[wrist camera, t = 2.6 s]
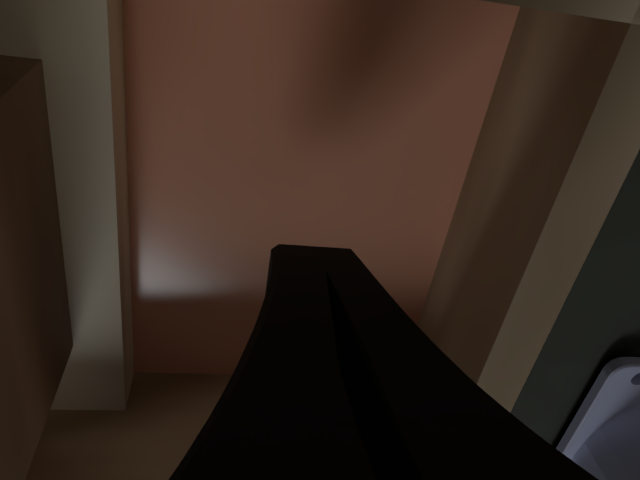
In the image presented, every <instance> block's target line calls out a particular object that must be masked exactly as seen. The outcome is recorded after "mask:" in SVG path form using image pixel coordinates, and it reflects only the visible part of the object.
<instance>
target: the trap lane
mask: <svg viewBox="0 0 640 480" xmlns="http://www.w3.org/2000/svg"><path fill="white" fill-rule="evenodd" d="M0 55H6V56H15V57H23V58H32V59H41V60H42V64H43V74H44V83H45V92H46V101H47V110H48V119H49V128H50V138H51V147H52V156H53V165H54V174H55V183H56V193H57V202H58V211H59V220H60V229H61V238H62V247H63V257H64V266H65V275H66V284H67V293H68V302H69V312H70V321H71V330H72V339H73V348H72V351H71V354H70V356H69V359H68V362H67V365H66V367H65V370H64V373H63V376H62V379H61V381H60V384H59V387H58V390H57V393H56V395H55V398H54V401H53V404H52V407H51V409H50V412H49V415H48V418H47V420H46V423H45V426H44V429H43V432H42V434H41V437H40V440H39V443H38V446H37V448H36V451H35V454H34V457H33V460H32V462H31V465H30V468H29V471H28V473H27V476H26V479H25V480H169V478H170V477H171V475H172V474H173V472H174V471H175V470H176V468H177V467H178V465H179V464H180V462H181V461H182V459H183V458H184V456H185V455H186V453H187V451H188V450H189V448H190V447H191V445H192V443H193V442H194V440H195V439H196V437H197V435H198V434H199V432H200V431H201V429H202V428H203V426H204V424H205V423H206V421H207V420H208V418H209V416H210V414H211V413H212V411H213V409H214V407H215V406H216V404H217V402H218V400H219V399H220V397H221V395H222V393H223V392H224V390H225V388H226V386H227V384H228V382H229V380H230V378H231V376H232V374H233V372H234V371H235V369H236V367H237V365H238V362H239V360H240V358H241V356H242V354H243V351H244V349H245V347H246V345H247V342H248V340H249V338H250V336H251V333H252V331H253V329H254V326H255V324H256V321H257V318H258V316H259V313H260V310H261V307H262V304H263V301H264V298H265V292H266V284H267V277H268V269H269V261H270V254H271V249H272V248H274V247H275V246H277V245H278V244H286V245H302V246H317V247H333V248H348V249H352V251H353V252H354V253H355V254H356V255H357V256H358V258H359V259H360V260H361V261H362V262H363V264H364V265H365V266H366V267H367V268H368V270H369V271H370V272H371V273H372V274H373V276H374V277H375V278H376V279H377V280H378V282H379V283H380V284H381V285H382V286H383V287H384V289H385V290H386V291H387V292H388V293H389V295H390V296H391V297H392V298H393V299H394V300H395V301H396V303H397V304H398V305H399V306H400V307H401V308H402V309H403V310H404V312H405V313H406V314H407V315H408V316H409V317H410V318H411V319H412V320H413V322H414V323H415V324H416V325H417V326H418V327H419V328H420V329H421V330H422V331H423V332H424V333H425V334H426V335H427V336H428V337H429V338H430V340H431V341H432V342H433V343H434V344H435V345H436V346H437V347H438V348H439V349H440V350H441V351H442V352H443V353H444V354H445V355H446V356H448V357H449V358H450V359H451V360H452V361H453V362H454V363H455V364H456V365H457V366H458V367H459V368H460V369H461V370H462V371H463V372H464V373H465V374H466V375H467V376H468V377H469V378H470V379H472V380H473V381H474V382H475V383H476V384H477V385H478V386H479V387H480V388H481V389H483V390H484V391H485V392H486V393H487V394H488V395H490V396H491V397H492V398H493V399H494V400H496V401H497V402H498V403H499V404H500V405H502V406H503V407H504V408H505V409H506V410H507V411H509V412H511V410H512V408H513V406H514V404H515V402H516V400H517V398H518V396H519V393H520V391H521V389H522V387H523V385H524V383H525V381H526V379H527V377H528V375H529V373H530V371H531V369H532V367H533V365H534V363H535V361H536V359H537V357H538V355H539V353H540V351H541V349H542V347H543V345H544V343H545V341H546V339H547V336H548V334H549V332H550V330H551V328H552V326H553V324H554V322H555V320H556V318H557V316H558V314H559V312H560V310H561V308H562V306H563V304H564V302H565V300H566V298H567V296H568V294H569V292H570V290H571V288H572V286H573V284H574V282H575V280H576V277H577V275H578V273H579V271H580V269H581V267H582V265H583V263H584V261H585V259H586V257H587V255H588V253H589V251H590V249H591V247H592V245H593V243H594V241H595V239H596V237H597V235H598V233H599V231H600V229H601V227H602V225H603V223H604V221H605V218H606V216H607V214H608V212H609V210H610V208H611V206H612V204H613V202H614V200H615V198H616V196H617V194H618V192H619V190H620V188H621V186H622V184H623V182H624V180H625V178H626V176H627V174H628V172H629V170H630V168H631V166H632V164H633V161H634V159H635V157H636V155H637V153H638V151H639V149H640V0H0Z"/></svg>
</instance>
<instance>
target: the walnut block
mask: <svg viewBox="0 0 640 480" xmlns="http://www.w3.org/2000/svg"><path fill="white" fill-rule="evenodd" d="M72 348H73V339H72V330H71V321H70V312H69V302H68V293H67V284H66V275H65V266H64V257H63V247H62V238H61V229H60V220H59V211H58V202H57V193H56V183H55V174H54V165H53V156H52V147H51V138H50V128H49V119H48V110H47V101H46V92H45V83H44V74H43V64H42V60H41V59H32V58H23V57H15V56H6V55H0V480H25V479H26V476H27V473H28V471H29V468H30V465H31V462H32V460H33V457H34V454H35V451H36V448H37V446H38V443H39V440H40V437H41V434H42V432H43V429H44V426H45V423H46V420H47V418H48V415H49V412H50V409H51V407H52V404H53V401H54V398H55V395H56V393H57V390H58V387H59V384H60V381H61V379H62V376H63V373H64V370H65V367H66V365H67V362H68V359H69V356H70V354H71V351H72Z"/></svg>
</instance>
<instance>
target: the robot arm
mask: <svg viewBox="0 0 640 480" xmlns="http://www.w3.org/2000/svg"><path fill="white" fill-rule="evenodd" d="M169 480H640V357H618V358H615V359H613V360H611V361H609V362H608V363H607V364H606V365H605V366H604V367H603V369H602V370H601V372H600V374H599V376H598V377H597V379H596V381H595V382H594V384H593V386H592V388H591V389H590V391H589V393H588V394H587V396H586V398H585V399H584V401H583V403H582V405H581V406H580V408H579V410H578V411H577V413H576V415H575V417H574V418H573V420H572V422H571V423H570V425H569V427H568V429H567V430H566V432H565V434H564V435H563V437H562V439H561V441H560V442H559V444H558V446H557V447H556V448H554V447H553V446H552V445H550V444H549V443H547V442H546V441H545V440H544V439H542V438H541V437H540V436H538V435H537V434H536V433H535V432H533V431H532V430H531V429H529V428H528V427H527V426H526V425H524V424H523V423H522V422H521V421H519V420H518V419H517V418H516V417H515V416H513V415H512V414H511V413H510V412H509V411H507V410H506V409H505V408H504V407H503V406H502V405H500V404H499V403H498V402H497V401H496V400H494V399H493V398H492V397H491V396H490V395H488V394H487V393H486V392H485V391H484V390H483V389H481V388H480V387H479V386H478V385H477V384H476V383H475V382H474V381H473V380H472V379H470V378H469V377H468V376H467V375H466V374H465V373H464V372H463V371H462V370H461V369H460V368H459V367H458V366H457V365H456V364H455V363H454V362H453V361H452V360H451V359H450V358H449V357H448V356H446V355H445V354H444V353H443V352H442V351H441V350H440V349H439V348H438V347H437V346H436V345H435V344H434V343H433V342H432V341H431V340H430V338H429V337H428V336H427V335H426V334H425V333H424V332H423V331H422V330H421V329H420V328H419V327H418V326H417V325H416V324H415V323H414V322H413V320H412V319H411V318H410V317H409V316H408V315H407V314H406V313H405V312H404V310H403V309H402V308H401V307H400V306H399V305H398V304H397V303H396V301H395V300H394V299H393V298H392V297H391V296H390V295H389V293H388V292H387V291H386V290H385V289H384V287H383V286H382V285H381V284H380V283H379V282H378V280H377V279H376V278H375V277H374V276H373V274H372V273H371V272H370V271H369V270H368V268H367V267H366V266H365V265H364V264H363V262H362V261H361V260H360V259H359V258H358V256H357V255H356V254H355V253H354V252H353V251H352V249H348V248H333V247H317V246H302V245H286V244H278V245H277V246H275V247H274V248H272V249H271V254H270V261H269V269H268V277H267V284H266V292H265V298H264V301H263V304H262V307H261V310H260V313H259V316H258V318H257V321H256V324H255V326H254V329H253V331H252V333H251V336H250V338H249V340H248V342H247V345H246V347H245V349H244V351H243V354H242V356H241V358H240V360H239V362H238V365H237V367H236V369H235V371H234V372H233V374H232V376H231V378H230V380H229V382H228V384H227V386H226V388H225V390H224V392H223V393H222V395H221V397H220V399H219V400H218V402H217V404H216V406H215V407H214V409H213V411H212V413H211V414H210V416H209V418H208V420H207V421H206V423H205V424H204V426H203V428H202V429H201V431H200V432H199V434H198V435H197V437H196V439H195V440H194V442H193V443H192V445H191V447H190V448H189V450H188V451H187V453H186V455H185V456H184V458H183V459H182V461H181V462H180V464H179V465H178V467H177V468H176V470H175V471H174V472H173V474H172V475H171V477H170V478H169Z"/></svg>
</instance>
